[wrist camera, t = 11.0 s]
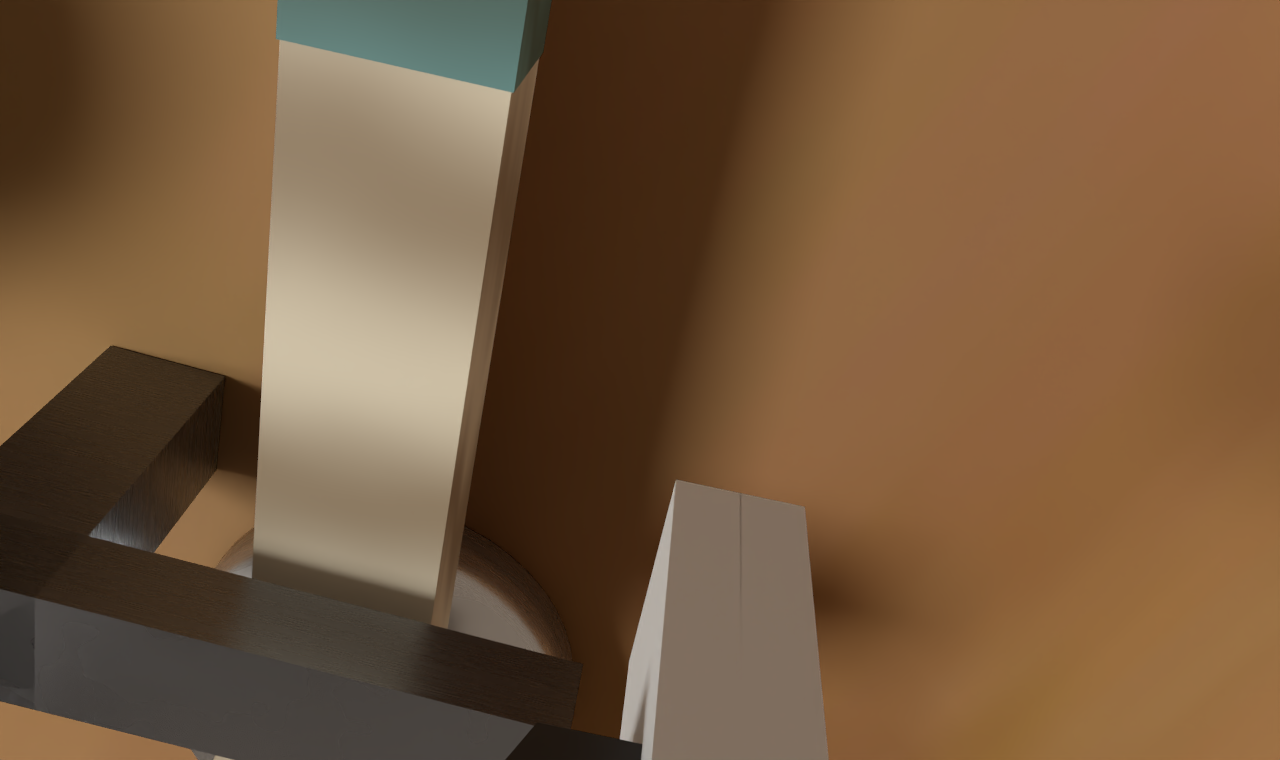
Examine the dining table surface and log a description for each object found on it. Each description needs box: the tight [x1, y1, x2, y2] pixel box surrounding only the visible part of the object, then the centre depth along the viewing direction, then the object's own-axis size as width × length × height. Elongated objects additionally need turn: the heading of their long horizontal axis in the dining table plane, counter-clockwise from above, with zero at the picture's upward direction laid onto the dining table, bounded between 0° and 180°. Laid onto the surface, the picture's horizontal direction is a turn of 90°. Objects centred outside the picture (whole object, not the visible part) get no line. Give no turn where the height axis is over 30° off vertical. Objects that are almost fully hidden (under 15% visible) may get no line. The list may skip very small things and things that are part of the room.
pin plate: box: [191, 526, 572, 760], centre depth 33 cm, size 11×11×2 cm
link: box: [213, 0, 552, 760], centre depth 24 cm, size 25×6×6 cm, turn 168°
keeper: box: [0, 346, 583, 760], centre depth 27 cm, size 14×3×9 cm, turn 75°
